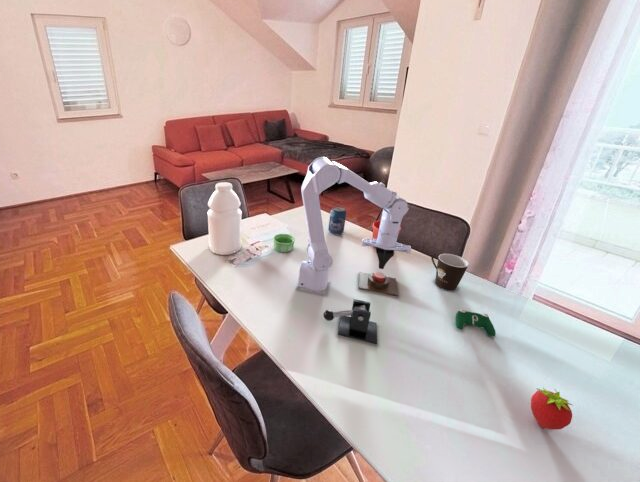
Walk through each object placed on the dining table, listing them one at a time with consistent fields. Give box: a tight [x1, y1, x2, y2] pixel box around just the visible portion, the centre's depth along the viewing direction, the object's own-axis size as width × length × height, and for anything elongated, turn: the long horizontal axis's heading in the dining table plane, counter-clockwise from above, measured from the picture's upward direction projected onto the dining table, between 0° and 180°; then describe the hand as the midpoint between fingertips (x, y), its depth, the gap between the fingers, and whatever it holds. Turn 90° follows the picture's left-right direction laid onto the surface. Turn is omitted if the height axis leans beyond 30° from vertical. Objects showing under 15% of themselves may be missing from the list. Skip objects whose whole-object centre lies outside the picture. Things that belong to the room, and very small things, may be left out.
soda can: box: [328, 205, 347, 236], centre depth 144 cm, size 7×7×12 cm
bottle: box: [206, 181, 243, 256], centre depth 128 cm, size 14×14×28 cm
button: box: [373, 271, 386, 282], centre depth 107 cm, size 4×4×2 cm
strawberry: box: [530, 387, 573, 431], centre depth 62 cm, size 6×8×10 cm
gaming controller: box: [455, 309, 496, 337], centre depth 89 cm, size 9×4×6 cm
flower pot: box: [372, 220, 402, 239], centre depth 132 cm, size 11×11×10 cm
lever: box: [323, 305, 367, 322], centre depth 88 cm, size 12×3×3 cm, turn 69°
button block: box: [358, 271, 399, 297], centre depth 107 cm, size 12×10×3 cm
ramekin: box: [272, 233, 296, 253], centre depth 131 cm, size 9×9×4 cm
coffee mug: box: [431, 253, 470, 292], centre depth 108 cm, size 12×9×10 cm
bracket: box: [337, 298, 378, 345], centre depth 87 cm, size 10×8×9 cm
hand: (380, 267), depth 105 cm, fingers closed
